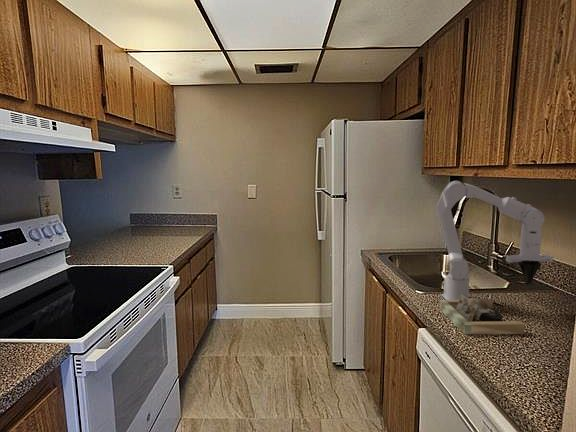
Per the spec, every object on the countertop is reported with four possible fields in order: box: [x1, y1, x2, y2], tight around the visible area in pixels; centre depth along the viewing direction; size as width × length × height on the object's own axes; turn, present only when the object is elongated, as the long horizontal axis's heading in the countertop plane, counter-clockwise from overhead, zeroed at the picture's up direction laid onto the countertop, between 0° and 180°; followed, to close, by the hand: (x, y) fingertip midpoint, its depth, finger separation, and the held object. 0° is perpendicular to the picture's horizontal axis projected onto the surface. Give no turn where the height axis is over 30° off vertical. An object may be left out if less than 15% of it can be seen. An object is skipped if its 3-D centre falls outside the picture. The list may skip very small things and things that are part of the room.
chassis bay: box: [438, 299, 526, 335], centre depth 117 cm, size 20×18×3 cm
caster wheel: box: [456, 295, 503, 322], centre depth 117 cm, size 7×11×10 cm
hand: (527, 282), depth 125 cm, fingers closed
